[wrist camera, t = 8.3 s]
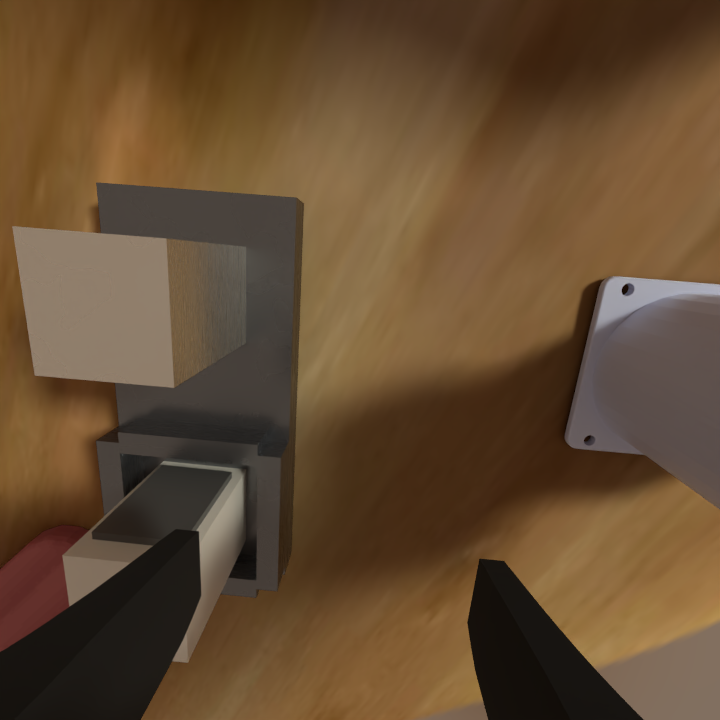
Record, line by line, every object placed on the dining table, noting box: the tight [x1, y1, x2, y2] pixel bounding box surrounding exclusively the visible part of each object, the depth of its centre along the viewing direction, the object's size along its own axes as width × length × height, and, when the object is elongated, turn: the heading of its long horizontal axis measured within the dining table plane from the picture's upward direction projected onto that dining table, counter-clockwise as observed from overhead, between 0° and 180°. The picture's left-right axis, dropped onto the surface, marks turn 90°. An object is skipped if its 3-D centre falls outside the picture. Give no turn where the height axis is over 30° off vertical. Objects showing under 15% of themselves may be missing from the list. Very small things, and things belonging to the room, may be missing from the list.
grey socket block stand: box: [12, 183, 304, 598], centre depth 15 cm, size 8×18×8 cm, turn 176°
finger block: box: [62, 461, 246, 663], centre depth 16 cm, size 4×4×6 cm
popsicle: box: [0, 525, 89, 652], centre depth 22 cm, size 5×2×15 cm
